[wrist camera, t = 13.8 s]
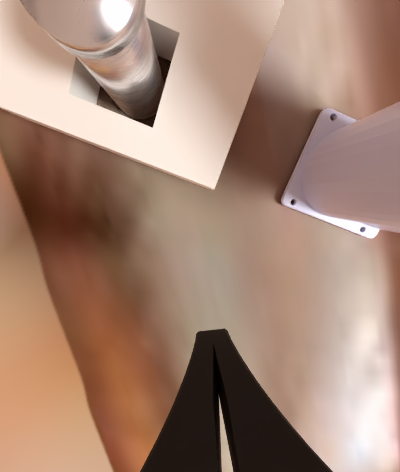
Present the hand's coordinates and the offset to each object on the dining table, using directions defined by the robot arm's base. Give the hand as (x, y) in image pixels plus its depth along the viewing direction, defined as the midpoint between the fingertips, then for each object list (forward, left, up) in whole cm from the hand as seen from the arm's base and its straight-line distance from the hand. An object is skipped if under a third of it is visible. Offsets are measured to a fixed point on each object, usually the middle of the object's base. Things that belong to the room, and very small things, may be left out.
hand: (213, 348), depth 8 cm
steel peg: (+10, -12, -9) cm, 18 cm away
